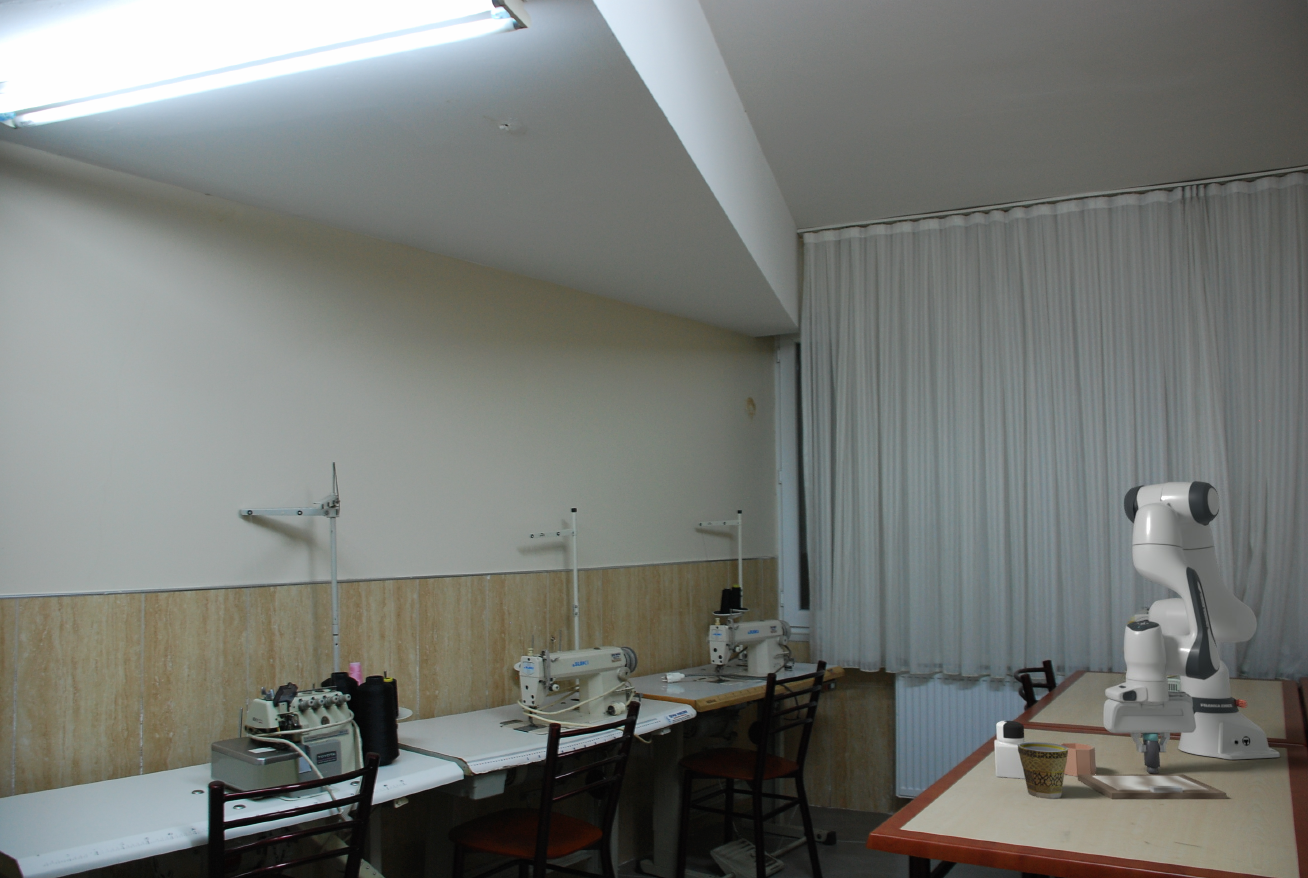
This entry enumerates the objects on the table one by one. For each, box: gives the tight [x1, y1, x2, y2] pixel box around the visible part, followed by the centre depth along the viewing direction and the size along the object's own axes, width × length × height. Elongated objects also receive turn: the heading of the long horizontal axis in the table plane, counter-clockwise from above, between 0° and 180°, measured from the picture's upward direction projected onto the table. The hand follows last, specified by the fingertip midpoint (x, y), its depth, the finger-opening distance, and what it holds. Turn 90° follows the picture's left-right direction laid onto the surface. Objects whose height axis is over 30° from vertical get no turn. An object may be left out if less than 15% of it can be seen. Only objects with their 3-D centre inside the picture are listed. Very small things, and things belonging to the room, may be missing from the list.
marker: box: [1141, 733, 1161, 774], centre depth 217 cm, size 3×3×9 cm
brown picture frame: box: [1077, 773, 1227, 800], centre depth 202 cm, size 24×16×2 cm, turn 90°
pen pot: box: [1058, 742, 1097, 777], centre depth 218 cm, size 8×8×6 cm
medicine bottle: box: [994, 720, 1026, 780], centre depth 216 cm, size 7×7×12 cm
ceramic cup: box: [1018, 741, 1068, 800], centre depth 200 cm, size 13×10×10 cm
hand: (1151, 752), depth 217 cm, fingers closed on marker, 3 cm apart
